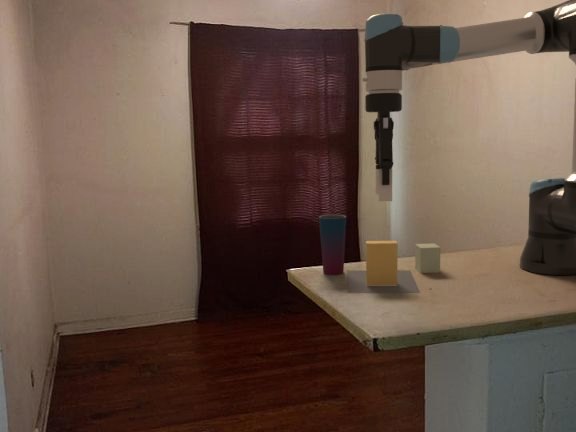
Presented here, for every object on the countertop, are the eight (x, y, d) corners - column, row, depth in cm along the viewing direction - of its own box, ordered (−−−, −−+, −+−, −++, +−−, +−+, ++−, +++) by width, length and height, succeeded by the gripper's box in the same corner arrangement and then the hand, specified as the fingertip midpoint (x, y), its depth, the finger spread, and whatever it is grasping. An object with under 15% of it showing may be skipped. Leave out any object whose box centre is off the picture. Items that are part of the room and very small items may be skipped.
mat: (410, 272, 150) (410, 270, 150) (420, 295, 130) (420, 292, 130) (346, 272, 152) (346, 270, 151) (347, 295, 132) (347, 292, 132)
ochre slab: (396, 282, 139) (396, 240, 138) (397, 285, 136) (397, 243, 135) (366, 282, 140) (366, 241, 138) (366, 285, 137) (366, 243, 135)
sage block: (434, 269, 153) (434, 243, 151) (440, 274, 148) (440, 247, 147) (414, 270, 152) (415, 244, 151) (420, 275, 147) (420, 248, 146)
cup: (317, 277, 148) (316, 218, 145) (322, 271, 154) (321, 214, 152) (344, 278, 146) (344, 218, 144) (348, 271, 152) (348, 214, 150)
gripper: (363, 95, 135) (364, 191, 138) (367, 90, 112) (367, 205, 115) (396, 94, 134) (396, 191, 137) (407, 89, 111) (406, 204, 114)
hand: (383, 197), depth 126 cm, fingers open, 11 cm apart
